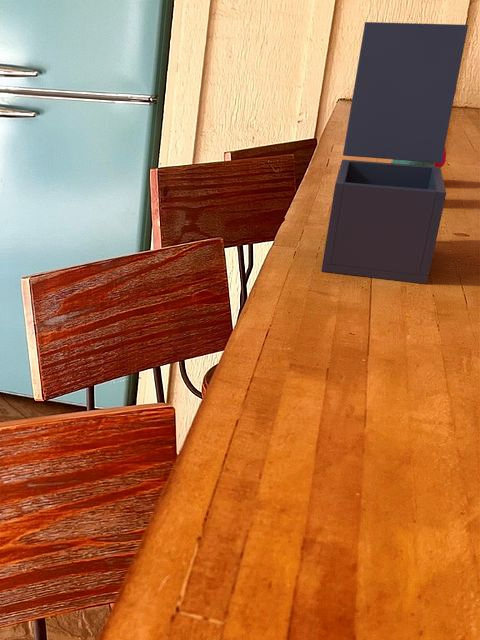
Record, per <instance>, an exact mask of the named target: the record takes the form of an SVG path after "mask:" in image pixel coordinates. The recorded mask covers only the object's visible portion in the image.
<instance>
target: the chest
mask: <svg viewBox="0 0 480 640" xmlns="http://www.w3.org/2000/svg"><path fill="white" fill-rule="evenodd" d="M441 168H442V167H441ZM441 168H440V167H433V166H420V165H407V164H395V163H391V162H382V161H381V162H380V161H366V160H355V159H341V162H340V166H339V170H338V173H337V177H336V180H335V184H334V188H333V195H332V201H331V207H330V214H329V220H328V226H327V232H326V239H325V245H324V250H323V251H324V252H323V258H322V263H321V269H320V270H321V271H320V272H323V273H329V274H330V273H331V274H338V275H348V276H356V277H363V278H373V279H381V280H390V281H397V282H406V283H414V284H423V285H427V284H428V281H429V275H430V272H431V267H432V262H433V258H434V253H435V249H436V244H437V239H438V234H439V230H440V225H441V222H442V221H441V220H442V217H443V211H444V206H445V202H446V197H447V190H446V189H447V188H446V185H445V181H444V178H443V172H442V169H441Z"/></svg>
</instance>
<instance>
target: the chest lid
mask: <svg viewBox="0 0 480 640" xmlns="http://www.w3.org/2000/svg"><path fill="white" fill-rule="evenodd" d="M363 25H364V26H363V32H362V37H361V43H360V44H361V45H360V50H359V56H358V61H357V68H356V74H355V80H354V84H353V85H354V87H353V92H352V97H351V98H352V99H351V103H350V110H349V115H348V121H347V127H346V134H345V141H344V146H343V152H342V156H343V157H354V158H355V157H357V158H366V159H367V158H368V159H381V160H393V159H394V160H407V161H420V162H433V163H441V162H442V157H443V152H444V147H445V148H446V141H447V136H448V132H449V126H450V122H451V115H452V111H453V106H454V101H455V96H456V93H455V91H456V92H457V84H458V79H459V74H460V70H461V64H462V59H463V55H464V49H465V44H466V38H467V34H468V28H469V24H453V23H452V24H451V23H447V24H446V23H420V22H419V23H417V22H415V23H411V22H381V21H380V22H378V21H377V22H376V21H365V22H364V24H363Z"/></svg>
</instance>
